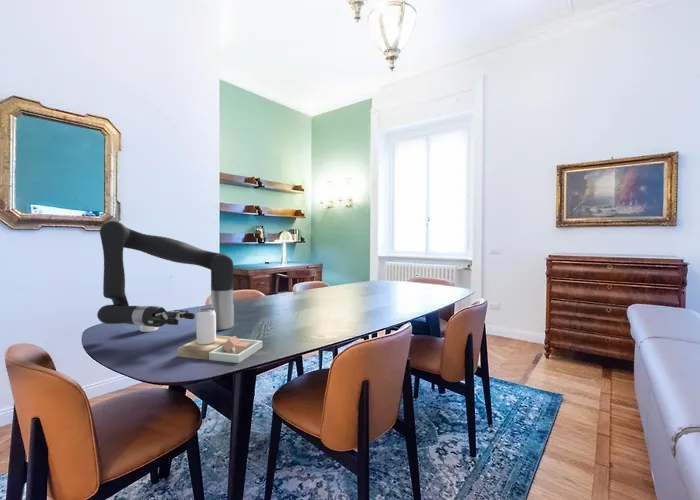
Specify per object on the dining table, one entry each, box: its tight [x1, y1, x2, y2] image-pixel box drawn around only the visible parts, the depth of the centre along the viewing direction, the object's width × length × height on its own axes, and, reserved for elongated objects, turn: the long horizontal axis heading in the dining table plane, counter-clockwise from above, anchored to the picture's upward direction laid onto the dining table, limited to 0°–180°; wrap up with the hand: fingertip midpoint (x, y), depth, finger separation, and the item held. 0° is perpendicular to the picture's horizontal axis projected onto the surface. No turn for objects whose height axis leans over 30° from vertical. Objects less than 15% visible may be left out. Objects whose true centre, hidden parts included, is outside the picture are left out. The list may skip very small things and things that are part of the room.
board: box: [177, 334, 233, 361], centre depth 123 cm, size 16×12×3 cm
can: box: [195, 307, 217, 345], centre depth 123 cm, size 6×6×12 cm
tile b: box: [235, 342, 251, 354], centre depth 120 cm, size 4×4×3 cm
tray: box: [208, 338, 263, 364], centre depth 121 cm, size 16×11×2 cm
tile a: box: [222, 335, 240, 353], centre depth 121 cm, size 4×4×3 cm
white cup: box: [139, 305, 160, 333], centre depth 148 cm, size 8×8×10 cm
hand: (186, 319), depth 125 cm, fingers open, 8 cm apart
